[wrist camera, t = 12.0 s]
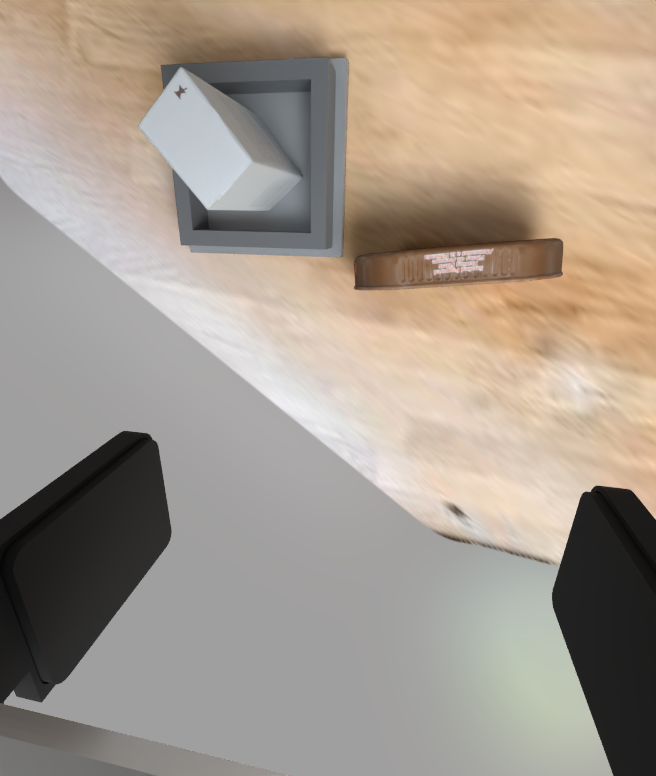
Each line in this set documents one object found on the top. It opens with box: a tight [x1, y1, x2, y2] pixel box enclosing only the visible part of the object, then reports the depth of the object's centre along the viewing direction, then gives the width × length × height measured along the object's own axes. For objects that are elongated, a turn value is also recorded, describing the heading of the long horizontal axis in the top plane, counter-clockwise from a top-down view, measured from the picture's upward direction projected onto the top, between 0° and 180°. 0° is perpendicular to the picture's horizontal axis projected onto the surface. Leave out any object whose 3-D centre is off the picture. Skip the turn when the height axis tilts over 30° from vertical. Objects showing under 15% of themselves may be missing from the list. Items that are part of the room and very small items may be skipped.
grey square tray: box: [161, 57, 349, 257], centre depth 33 cm, size 14×14×4 cm
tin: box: [354, 238, 563, 290], centre depth 31 cm, size 15×3×8 cm, turn 95°
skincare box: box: [138, 67, 303, 211], centre depth 29 cm, size 6×4×12 cm
